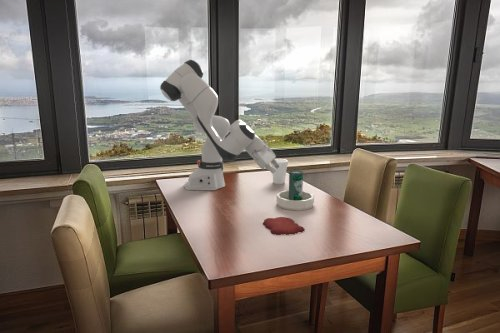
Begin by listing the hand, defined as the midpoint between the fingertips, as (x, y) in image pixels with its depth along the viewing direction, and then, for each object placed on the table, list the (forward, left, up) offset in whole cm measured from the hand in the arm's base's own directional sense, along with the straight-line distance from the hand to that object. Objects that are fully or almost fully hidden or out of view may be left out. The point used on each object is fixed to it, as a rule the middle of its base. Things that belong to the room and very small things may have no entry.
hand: (276, 170), depth 177 cm
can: (+8, -5, -15) cm, 18 cm away
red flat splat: (-5, -30, -17) cm, 34 cm away
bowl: (+8, -5, -16) cm, 19 cm away
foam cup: (+10, +33, -16) cm, 38 cm away
